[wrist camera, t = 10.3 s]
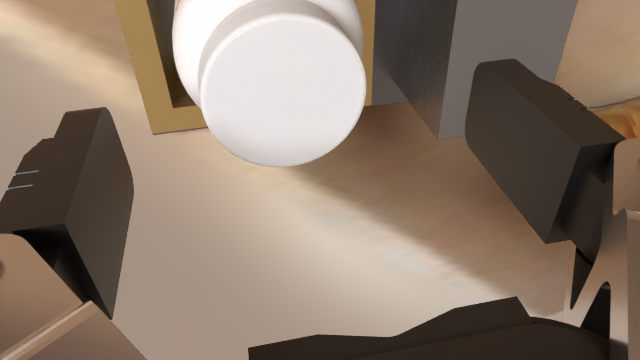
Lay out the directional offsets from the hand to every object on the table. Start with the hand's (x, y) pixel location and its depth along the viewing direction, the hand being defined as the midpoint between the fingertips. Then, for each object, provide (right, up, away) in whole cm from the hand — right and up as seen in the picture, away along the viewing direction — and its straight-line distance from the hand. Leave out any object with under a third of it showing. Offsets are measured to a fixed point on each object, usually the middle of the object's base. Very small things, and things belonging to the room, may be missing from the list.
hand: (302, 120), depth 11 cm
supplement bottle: (-2, +6, +8) cm, 11 cm away
